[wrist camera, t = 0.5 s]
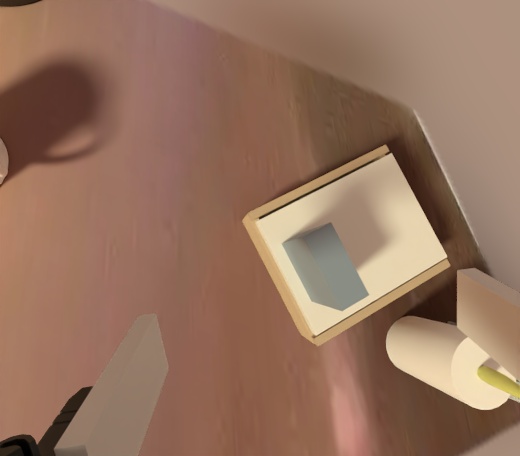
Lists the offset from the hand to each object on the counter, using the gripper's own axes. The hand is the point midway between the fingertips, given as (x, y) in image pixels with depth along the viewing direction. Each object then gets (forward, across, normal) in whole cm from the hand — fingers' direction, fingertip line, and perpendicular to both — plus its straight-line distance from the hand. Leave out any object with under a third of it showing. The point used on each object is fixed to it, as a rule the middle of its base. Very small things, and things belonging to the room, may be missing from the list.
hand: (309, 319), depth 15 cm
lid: (+19, +7, -3) cm, 20 cm away
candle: (+21, +14, -17) cm, 31 cm away
